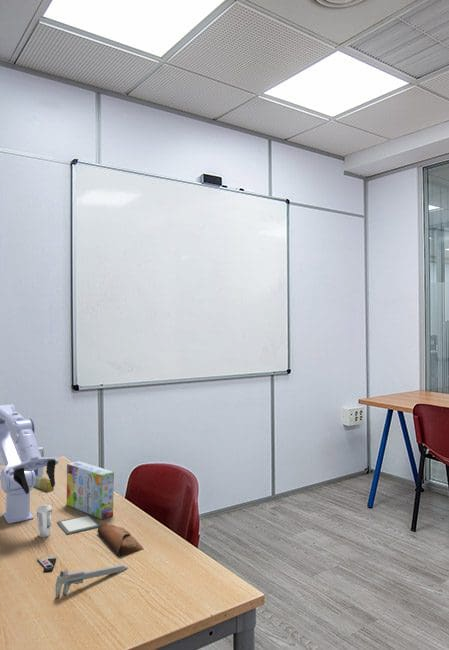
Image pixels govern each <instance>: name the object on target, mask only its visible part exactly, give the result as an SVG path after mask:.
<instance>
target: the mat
mask: <svg viewBox="0 0 449 650" xmlns="http://www.w3.org/2000/svg"><path fill="white" fill-rule="evenodd" d="M56 524H57V525H58V526H59V528H61V530H62V532H64V533H65V535H73V534H76V533H83V532H85V531H88V530H89V531H90V530H95V529H98V527H99V526H100V525H101V524H100V523H99V522H98V521H97V520H96V519H95V518H94V516H92V515H90V514H86V515H81V516H77V517H72V518H67V519H64V520H63V519H62V520H59V521H56Z"/></svg>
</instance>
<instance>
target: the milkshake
mask: <svg viewBox="0 0 449 650" xmlns="http://www.w3.org/2000/svg"><path fill="white" fill-rule="evenodd" d="M53 506H54V503H52V506H51V505H49V504H41V505H39V506H37V508H36V518H37V528H38V529H37V531H38V532H37V533H38V536H39V538H46V537H49V536H50V534H51V526H52V524H51V523H52V513H53Z"/></svg>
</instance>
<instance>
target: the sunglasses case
mask: <svg viewBox="0 0 449 650" xmlns="http://www.w3.org/2000/svg"><path fill="white" fill-rule="evenodd" d="M97 534H98V535H99V536H100V537H101V538H102V539H104V540H105V541H106V543H107V544H108V545H109V546H110V547H111V548H112V549H113V550H114V552H115V553H116V554H117V555H118V556H120V557H125V556H128V555H131V554H135V553H137V552H140V551H144V547H143V546H142V545H141V544H140V542H139V541H138V540H137V539H136V538H135V537H134V536H133V535H132V534H131V533H130V532H129V530H127V529H126V528H124V527H120V526H117V525H115V524H114V525H113V524H112V523H111V524H110V523H101V524H100V526H99V527H98V528H97Z"/></svg>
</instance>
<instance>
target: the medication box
mask: <svg viewBox="0 0 449 650" xmlns="http://www.w3.org/2000/svg"><path fill="white" fill-rule="evenodd" d="M35 476H36V482H35V485H34V487H33V488H37V489H39V490H42V491H44V492H47V493H50V492H53V491H54V487H55V486H54V487H52V486H51V483H50V479H49V478H47V477H44V476H39V475H35Z"/></svg>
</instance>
